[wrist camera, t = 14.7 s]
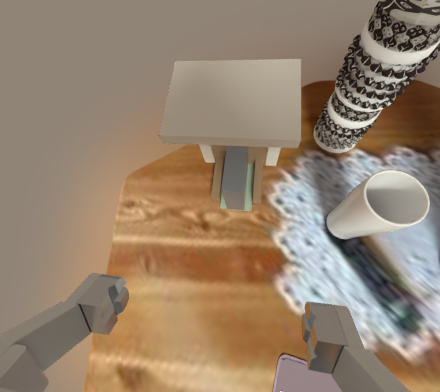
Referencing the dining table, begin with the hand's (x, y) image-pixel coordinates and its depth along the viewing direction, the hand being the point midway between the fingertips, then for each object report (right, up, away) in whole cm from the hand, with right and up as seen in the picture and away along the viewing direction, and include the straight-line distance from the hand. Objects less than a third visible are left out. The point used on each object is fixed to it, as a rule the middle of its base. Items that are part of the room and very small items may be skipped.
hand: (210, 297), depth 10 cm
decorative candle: (+23, +17, +34) cm, 45 cm away
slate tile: (+4, +6, +33) cm, 33 cm away
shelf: (+4, +7, +33) cm, 34 cm away
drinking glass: (+22, 0, +29) cm, 36 cm away
